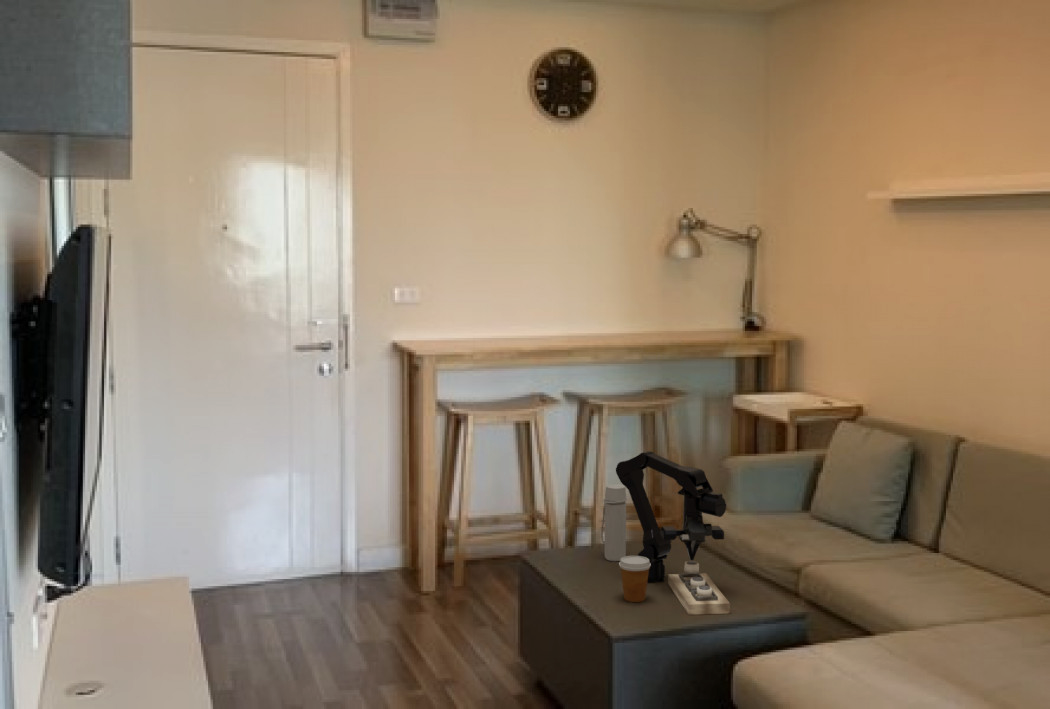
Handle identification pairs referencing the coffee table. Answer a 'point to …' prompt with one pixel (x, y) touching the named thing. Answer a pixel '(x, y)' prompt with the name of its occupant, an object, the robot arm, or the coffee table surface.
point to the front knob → (704, 591)
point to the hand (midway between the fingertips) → (691, 560)
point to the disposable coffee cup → (634, 577)
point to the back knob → (691, 567)
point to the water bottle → (614, 522)
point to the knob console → (689, 595)
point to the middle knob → (696, 582)
